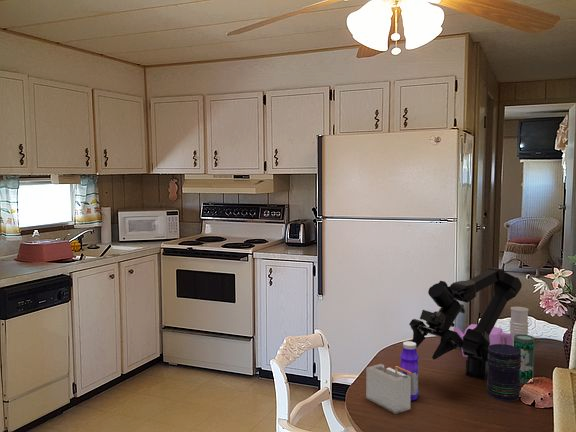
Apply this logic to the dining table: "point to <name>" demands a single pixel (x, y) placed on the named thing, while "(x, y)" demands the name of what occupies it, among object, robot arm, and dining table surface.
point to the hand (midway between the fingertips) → (422, 354)
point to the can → (525, 356)
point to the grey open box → (388, 389)
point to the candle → (519, 321)
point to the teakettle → (490, 336)
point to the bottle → (410, 366)
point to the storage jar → (503, 372)
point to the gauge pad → (396, 372)
